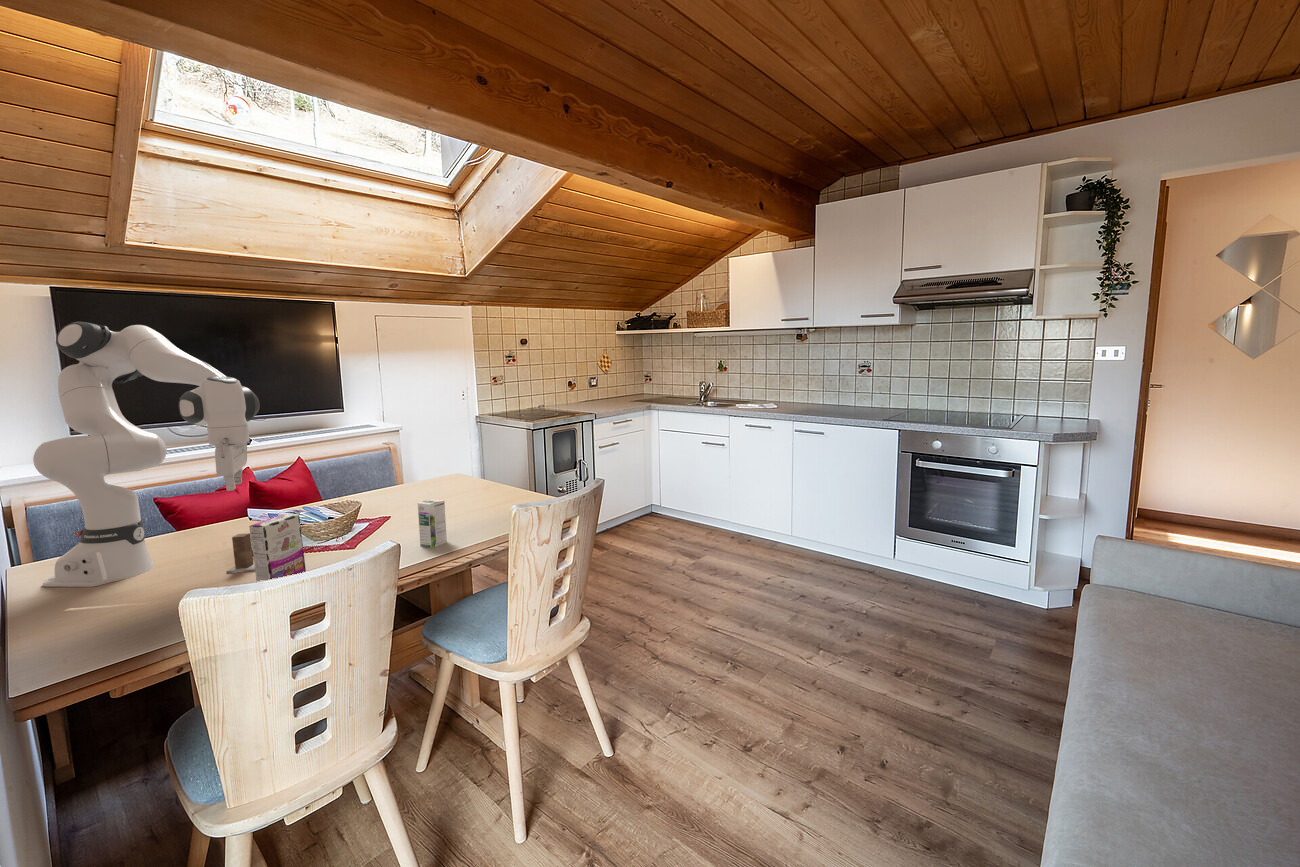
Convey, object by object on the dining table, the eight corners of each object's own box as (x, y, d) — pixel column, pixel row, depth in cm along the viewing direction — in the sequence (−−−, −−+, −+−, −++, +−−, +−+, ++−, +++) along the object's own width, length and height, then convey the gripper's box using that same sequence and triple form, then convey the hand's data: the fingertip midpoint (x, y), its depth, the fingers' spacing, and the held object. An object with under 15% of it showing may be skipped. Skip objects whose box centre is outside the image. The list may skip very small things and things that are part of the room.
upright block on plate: (226, 574, 152) (222, 539, 151) (239, 566, 158) (235, 532, 157) (280, 571, 154) (276, 536, 153) (290, 563, 160) (287, 529, 159)
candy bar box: (291, 571, 154) (285, 513, 152) (306, 572, 153) (300, 513, 151) (255, 587, 143) (248, 524, 141) (271, 588, 142) (264, 525, 140)
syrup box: (419, 549, 170) (416, 502, 169) (433, 543, 176) (430, 498, 174) (434, 551, 168) (431, 504, 167) (448, 545, 174) (445, 499, 172)
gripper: (235, 439, 143) (241, 492, 145) (249, 432, 162) (254, 479, 163) (205, 441, 141) (211, 495, 142) (222, 434, 159) (228, 481, 160)
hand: (234, 486), depth 153 cm, fingers open, 8 cm apart
